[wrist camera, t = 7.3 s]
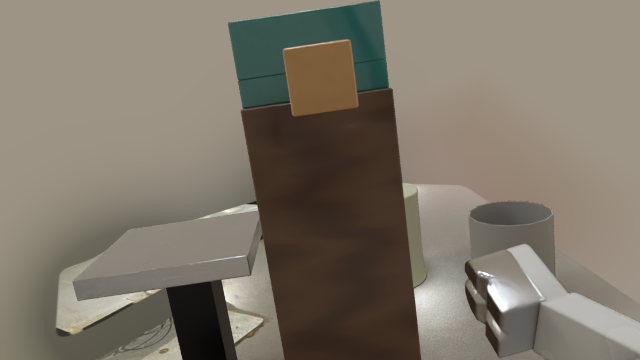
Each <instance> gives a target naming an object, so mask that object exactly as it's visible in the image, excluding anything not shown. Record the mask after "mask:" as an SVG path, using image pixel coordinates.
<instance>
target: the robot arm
mask: <svg viewBox="0 0 640 360" xmlns="http://www.w3.org/2000/svg"><path fill="white" fill-rule="evenodd" d="M465 272H466V274H467V276H468V277H469V279H468V280H467V281H466V283H465V292H466V296H467V300H468V303H469V305H470V308H471V310H472V312H473V314H474V315H475V317H476V319H477V320H478V321H480V322H482V323H484V324H486V336H487V338H488V340H489V342H490V343H491V345H492V347H493V348H494V350H495V352H496V353H497V355H498V357H499V358H502V357H506V356H510V355H513V354H517V353H520V352H524V351H527V350H531V349H534V350H533V351H535V352H536V353H538V354H539V355H541V356H542V357H544V358H545V359H547V360H640V322H638V321H636V320H634V319H632V318H629V317H627V316H625V315H623V314H621V313H619V312H616V311H614V310H612V309H610V308H608V307H606V306H603V305H601V304H599V303H597V302H595V301H593V300H590V299H588V298H586V297H584V296H582V295H580V294H578V293H575V292H573V293H569V294H568V292H567V291H566V290H565V289H564V288H563V286H562V285H561V284H560V283H559V281H558V280H557V279H556V278H555V276H554V275H553V274H552V273H551V272H550V270H549V269H548V268H547V267H546V265H545V264H544V263H543V262H542V260H541V259H540V258H539V257H538V256H537V254H536V253H535V252H534V251H533V249H532V248H531V247H530V246H529V245H527V244H522V245H518V246H515V247H512V248H509V249H506V250H501V251H497V252H494V253H491V254H488V255H485V256H482V257H479V258H475V259H472V260H469V261H467V262H466V264H465Z"/></svg>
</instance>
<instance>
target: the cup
mask: <svg viewBox="0 0 640 360" xmlns="http://www.w3.org/2000/svg"><path fill="white" fill-rule="evenodd" d="M553 217H554V216H553V212H552V209H551V208H549V207H547V206H545V205H543V204H539V203H533V202H528V201H501V202H491V203H487V204H484V205H480V206H477V207H475V208H473V209H472V210H470V211H469V229H470V243H471V256H472V259H475V258H479V257H482V256H485V255H488V254H491V253H494V252H497V251H501V250H506V249H509V248H512V247H515V246H518V245H522V244H527V245H529V246H530V247H531V248H532V249H533V251H534V252H535V253H536V254H537V256H538V257H539V258H540V259H541V260H542V262H543V263H544V264H545V265H546V267H547V268H548V269H549V270H550V272H551V273H552V274H553V275H554V276H555V278H556V275H555V245H554V219H553Z"/></svg>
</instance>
